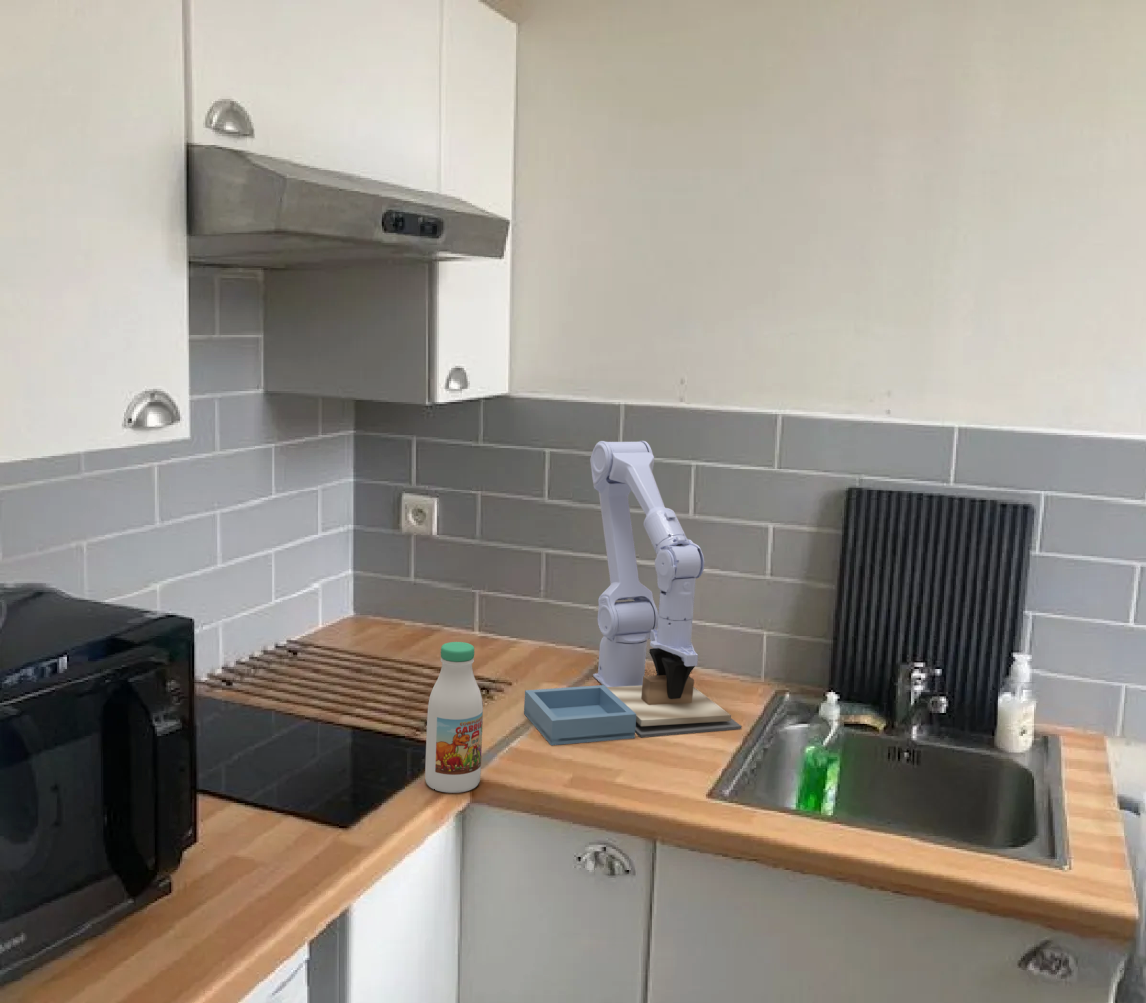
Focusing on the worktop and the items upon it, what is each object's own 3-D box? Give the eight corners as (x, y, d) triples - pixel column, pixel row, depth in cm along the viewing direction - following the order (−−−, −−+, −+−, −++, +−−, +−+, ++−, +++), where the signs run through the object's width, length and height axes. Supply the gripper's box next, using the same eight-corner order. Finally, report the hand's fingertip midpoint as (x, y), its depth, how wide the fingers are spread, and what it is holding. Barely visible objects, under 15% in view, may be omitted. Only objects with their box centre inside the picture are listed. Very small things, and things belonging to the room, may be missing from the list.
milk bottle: (415, 787, 156) (419, 648, 153) (440, 767, 164) (445, 634, 160) (465, 798, 154) (471, 657, 151) (489, 778, 161) (495, 642, 158)
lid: (604, 692, 195) (606, 664, 194) (688, 688, 200) (690, 661, 200) (641, 726, 180) (643, 696, 179) (730, 720, 186) (733, 691, 185)
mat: (599, 699, 196) (599, 696, 196) (693, 692, 202) (693, 689, 202) (640, 737, 179) (640, 734, 179) (741, 729, 186) (741, 726, 185)
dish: (523, 713, 187) (525, 690, 186) (602, 707, 192) (604, 685, 191) (551, 745, 174) (552, 720, 174) (634, 738, 179) (636, 714, 178)
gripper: (636, 605, 193) (631, 681, 195) (671, 629, 180) (666, 711, 182) (673, 604, 196) (668, 679, 198) (711, 627, 182) (705, 708, 185)
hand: (669, 694), depth 190 cm, fingers closed on lid, 3 cm apart
